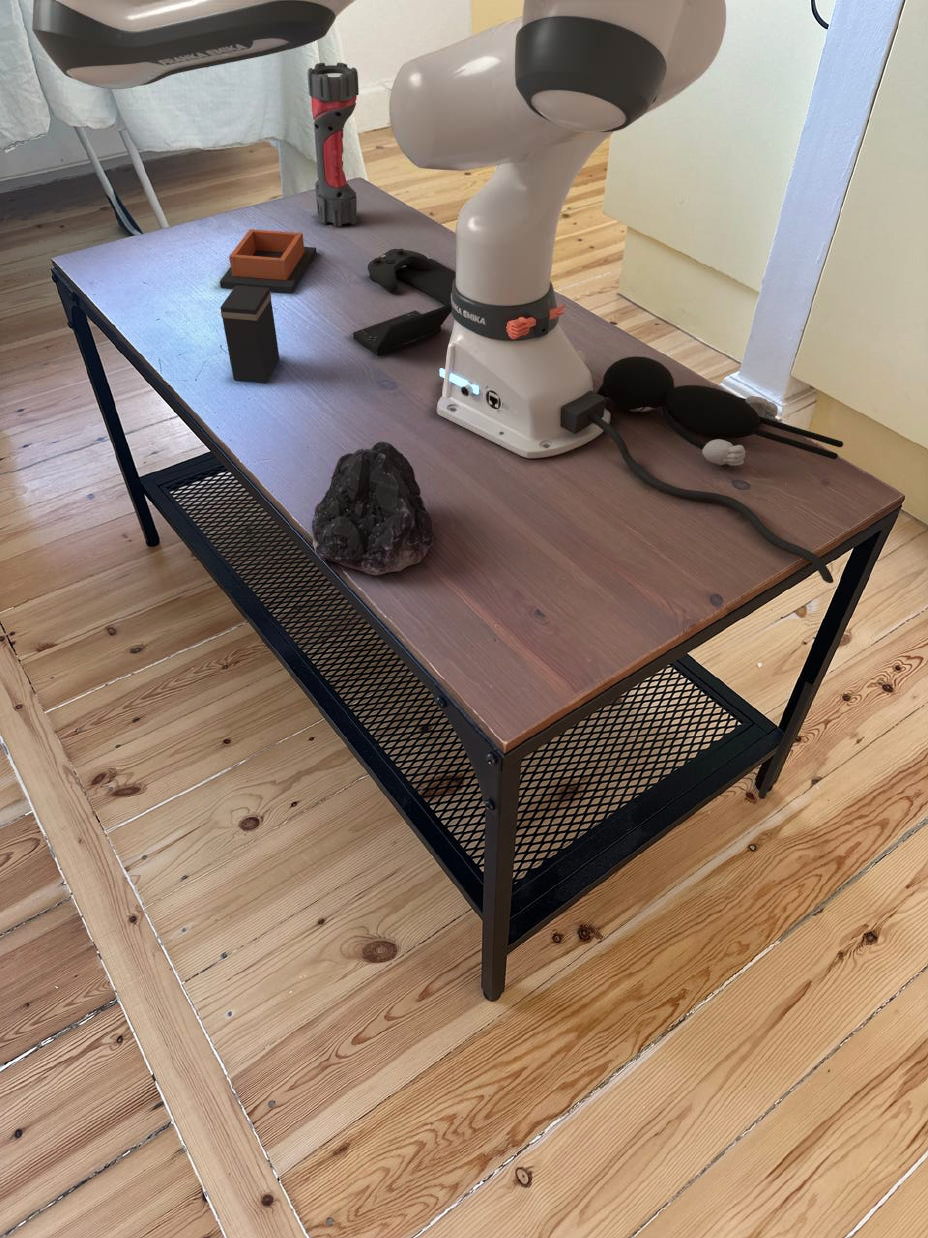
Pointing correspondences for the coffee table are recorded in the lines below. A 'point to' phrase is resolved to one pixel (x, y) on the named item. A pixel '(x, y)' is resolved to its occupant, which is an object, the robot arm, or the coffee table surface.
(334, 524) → the crystal cluster
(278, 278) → the orange and black tray
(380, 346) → the handheld gaming console
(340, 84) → the flashlight
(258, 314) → the black box with band
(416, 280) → the smartphone
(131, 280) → the coffee table surface
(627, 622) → the coffee table surface
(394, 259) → the game controller
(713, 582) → the coffee table surface
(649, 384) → the toy
